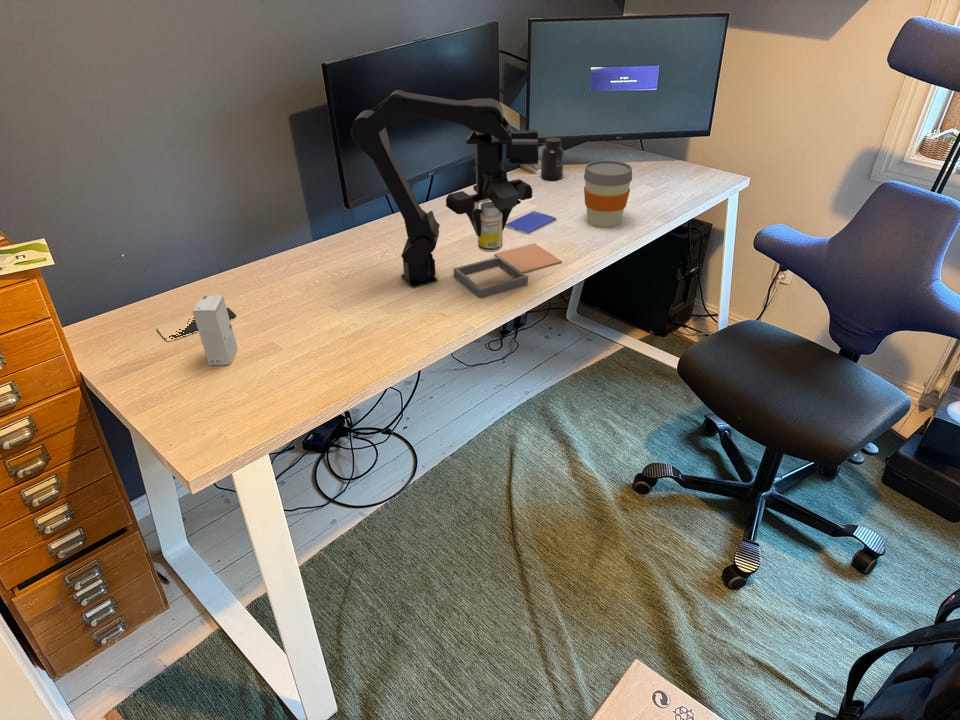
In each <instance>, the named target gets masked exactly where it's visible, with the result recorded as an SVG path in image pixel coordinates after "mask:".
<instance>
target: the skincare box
mask: <svg viewBox="0 0 960 720" xmlns="http://www.w3.org/2000/svg"><path fill="white" fill-rule="evenodd" d="M226 306H227V304H226V302H225V299H224V296H223V295H221V294H220V295H219V294H217V295H203V296H201V298H199V300H198V301H197V302H196V304H195V307H194V308H193V309H192V315H194V318H195V321H196V325H197V328H198V331H199V332H198V334H199V337H200V341H201V343H202V347H203V350H204V353H205V356H206V360H207V364H208V365H209V366H227V365H230V364H232V361H233V360H234V358H235V356H236V354H237V352H238V345H237V341H236V337H235V334H234V330H233V327H232V323H231V321H230V319H229V316H228V312H227V309H226Z"/></svg>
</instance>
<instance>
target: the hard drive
mask: <svg viewBox="0 0 960 720" xmlns="http://www.w3.org/2000/svg"><path fill="white" fill-rule="evenodd" d="M555 222H557V217H554V216H551V215H549V214H545V213H542V212H539V211H536V210H532V211H531V212H529V213H526V214H523V215H522V216H520V217H518V218H516V219H514V220H512V221H509V222H506V225H505V228H504V229H509V230H512V231H515V232H517V233H521V234H524V235H527V236H529V235H531V234H534V233H535V232H537V231H539V230H541V229H543V228H545V227H548V226H549V225H551V224H553V223H555Z"/></svg>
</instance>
